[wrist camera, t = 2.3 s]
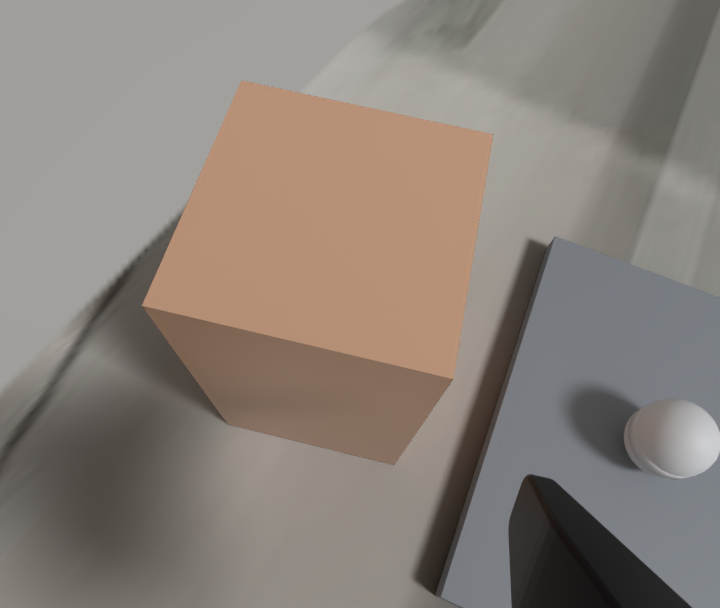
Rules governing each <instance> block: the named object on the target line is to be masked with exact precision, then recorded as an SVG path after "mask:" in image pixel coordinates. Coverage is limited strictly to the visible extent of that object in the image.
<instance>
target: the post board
mask: <svg viewBox="0 0 720 608" xmlns="http://www.w3.org/2000/svg"><path fill="white" fill-rule="evenodd" d="M528 474H533V475H538V476H542V477H547V478H550V479H553V480H554V481H556V482H557V483H558V484H559V485H560V486H561V487H562V488H563V489H564V490H565V491H566V492H567V493H569V494H570V495H571V496H572V497H573V498H574V499H575V500H576V501H577V502H578V503H579V504H581V505H582V506H583V507H584V508H585V509H586V510H587V511H588V512H589V513H590V514H591V515H592V516H594V517H595V518H596V519H597V520H598V521H599V522H600V523H601V524H602V525H603V526H604V527H606V528H607V529H608V530H609V531H610V532H611V533H612V534H613V535H614V536H615V537H616V538H617V539H619V540H620V541H621V542H622V543H623V544H624V545H625V546H626V547H627V548H628V549H629V550H631V551H632V552H633V553H634V554H635V555H636V556H637V557H638V558H639V559H640V560H641V561H642V562H644V563H645V564H646V565H647V566H648V567H649V568H650V569H651V570H652V571H653V572H654V573H656V574H657V575H658V576H659V577H660V578H661V579H662V580H663V581H664V582H665V583H666V584H667V585H669V586H670V587H671V588H672V589H673V590H674V591H675V592H676V593H677V594H678V595H679V596H681V597H682V598H683V599H684V600H685V601H686V602H687V603H688V604H689V605H690V606H691V607H692V608H720V298H719V297H717V296H714V295H711V294H709V293H706V292H703V291H701V290H698V289H695V288H692V287H690V286H687V285H684V284H682V283H679V282H676V281H674V280H671V279H668V278H666V277H663V276H660V275H658V274H655V273H652V272H650V271H647V270H644V269H642V268H639V267H636V266H634V265H631V264H628V263H626V262H623V261H620V260H618V259H615V258H612V257H610V256H607V255H604V254H601V253H599V252H596V251H593V250H591V249H588V248H585V247H583V246H580V245H577V244H575V243H572V242H569V241H567V240H564V239H561V238H559V237H556V236H555V237H554V239H553V240H552V242H551V243H550V244H549V246H548V247H547V249H546V252H545V255H544V258H543V261H542V264H541V267H540V270H539V273H538V276H537V280H536V283H535V286H534V289H533V292H532V295H531V298H530V301H529V304H528V308H527V311H526V314H525V317H524V320H523V323H522V326H521V329H520V332H519V336H518V339H517V342H516V345H515V348H514V351H513V354H512V357H511V360H510V364H509V367H508V370H507V373H506V376H505V379H504V382H503V385H502V388H501V392H500V395H499V398H498V401H497V404H496V407H495V410H494V413H493V416H492V420H491V423H490V426H489V429H488V432H487V435H486V438H485V441H484V444H483V448H482V451H481V454H480V457H479V460H478V463H477V466H476V469H475V472H474V475H473V479H472V482H471V485H470V488H469V491H468V494H467V497H466V500H465V503H464V507H463V510H462V513H461V516H460V519H459V522H458V525H457V528H456V531H455V535H454V538H453V541H452V544H451V547H450V550H449V553H448V556H447V559H446V563H445V566H444V569H443V572H442V575H441V578H440V581H439V584H438V587H437V591H436V594H435V596H437V597H439V598H441V599H444V600H446V601H448V602H450V603H452V604H454V605H456V606H459V607H461V608H512V605H511V582H510V559H509V537H508V526H509V519H510V515H511V512H512V509H513V506H514V503H515V500H516V497H517V495H518V492H519V489H520V486H521V483H522V481H523V479H524V477H525V476H526V475H528Z"/></svg>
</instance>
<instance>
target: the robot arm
mask: <svg viewBox="0 0 720 608" xmlns="http://www.w3.org/2000/svg"><path fill="white" fill-rule="evenodd" d="M508 537H509V559H510V582H511V605H512V608H692V607H691V606H690V605H689V604H688V603H687V602H686V601H685V600H684V599H683V598H682V597H681V596H679V595H678V594H677V593H676V592H675V591H674V590H673V589H672V588H671V587H670V586H669V585H667V584H666V583H665V582H664V581H663V580H662V579H661V578H660V577H659V576H658V575H657V574H656V573H654V572H653V571H652V570H651V569H650V568H649V567H648V566H647V565H646V564H645V563H644V562H642V561H641V560H640V559H639V558H638V557H637V556H636V555H635V554H634V553H633V552H632V551H631V550H629V549H628V548H627V547H626V546H625V545H624V544H623V543H622V542H621V541H620V540H619V539H617V538H616V537H615V536H614V535H613V534H612V533H611V532H610V531H609V530H608V529H607V528H606V527H604V526H603V525H602V524H601V523H600V522H599V521H598V520H597V519H596V518H595V517H594V516H592V515H591V514H590V513H589V512H588V511H587V510H586V509H585V508H584V507H583V506H582V505H581V504H579V503H578V502H577V501H576V500H575V499H574V498H573V497H572V496H571V495H570V494H569V493H567V492H566V491H565V490H564V489H563V488H562V487H561V486H560V485H559V484H558V483H557V482H556V481H554V480H553V479H550V478H547V477H542V476H538V475H533V474H528V475H526V476H525V477H524V479H523V481H522V483H521V486H520V489H519V492H518V495H517V497H516V500H515V503H514V506H513V509H512V512H511V515H510V519H509V526H508Z"/></svg>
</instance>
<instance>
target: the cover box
mask: <svg viewBox="0 0 720 608" xmlns="http://www.w3.org/2000/svg"><path fill="white" fill-rule="evenodd" d="M492 140H493V134H489V133H485V132H480V131H475V130H471V129H466V128H461V127H457V126H452V125H447V124H443V123H438V122H433V121H429V120H424V119H419V118H415V117H410V116H405V115H400V114H396V113H391V112H386V111H382V110H377V109H372V108H368V107H363V106H358V105H354V104H349V103H344V102H340V101H335V100H330V99H326V98H321V97H316V96H312V95H307V94H302V93H297V92H293V91H288V90H283V89H279V88H274V87H269V86H265V85H260V84H255V83H251V82H246V81H241V83H240V85H239V88H238V90H237V92H236V94H235V97H234V99H233V101H232V103H231V106H230V108H229V110H228V112H227V115H226V117H225V119H224V121H223V123H222V126H221V128H220V131H219V133H218V135H217V137H216V139H215V141H214V144H213V146H212V148H211V151H210V153H209V155H208V157H207V160H206V162H205V164H204V166H203V169H202V171H201V173H200V175H199V178H198V180H197V182H196V184H195V187H194V189H193V191H192V193H191V196H190V198H189V200H188V202H187V205H186V207H185V209H184V211H183V214H182V216H181V218H180V221H179V223H178V225H177V227H176V230H175V232H174V234H173V236H172V239H171V241H170V243H169V245H168V248H167V250H166V252H165V254H164V257H163V259H162V261H161V263H160V266H159V268H158V270H157V272H156V275H155V277H154V279H153V281H152V284H151V286H150V288H149V291H148V293H147V295H146V297H145V300H144V302H143V304H142V307H143V308H144V309H145V311H146V312H147V313H148V315H149V316H150V318H151V319H152V320H153V322H154V323H155V325H156V326H157V327H158V329H159V330H160V331H161V333H162V334H163V336H164V337H165V338H166V340H167V341H168V342H169V344H170V345H171V347H172V348H173V349H174V351H175V352H176V354H177V355H178V356H179V358H180V359H181V360H182V362H183V363H184V365H185V366H186V367H187V369H188V370H189V371H190V373H191V374H192V376H193V377H194V378H195V380H196V381H197V383H198V384H199V385H200V387H201V388H202V389H203V391H204V392H205V394H206V395H207V396H208V398H209V399H210V400H211V402H212V403H213V405H214V406H215V407H216V409H217V410H218V412H219V413H220V414H221V416H222V417H223V418H224V420H225V421H226V423H227V424H228V425H232V426H236V427H240V428H244V429H248V430H252V431H257V432H261V433H265V434H269V435H273V436H277V437H281V438H285V439H289V440H293V441H297V442H301V443H306V444H310V445H314V446H318V447H322V448H326V449H330V450H334V451H338V452H342V453H346V454H351V455H355V456H359V457H363V458H367V459H371V460H375V461H379V462H383V463H387V464H391V465H395V463H396V462H397V460H398V459H399V458H400V456H401V455H402V453H403V452H404V450H405V449H406V447H407V446H408V444H409V443H410V442H411V440H412V439H413V437H414V436H415V434H416V433H417V431H418V430H419V428H420V427H421V426H422V424H423V423H424V421H425V420H426V418H427V417H428V415H429V414H430V412H431V411H432V409H433V408H434V407H435V405H436V404H437V402H438V401H439V399H440V398H441V396H442V395H443V393H444V392H445V391H446V389H447V388H448V386H449V385H450V383H451V382H452V380H453V378H454V372H455V366H456V360H457V354H458V348H459V342H460V336H461V329H462V323H463V317H464V311H465V305H466V299H467V293H468V287H469V280H470V274H471V268H472V262H473V256H474V250H475V244H476V238H477V231H478V225H479V219H480V213H481V207H482V201H483V195H484V189H485V182H486V176H487V170H488V164H489V158H490V152H491V146H492Z"/></svg>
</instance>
